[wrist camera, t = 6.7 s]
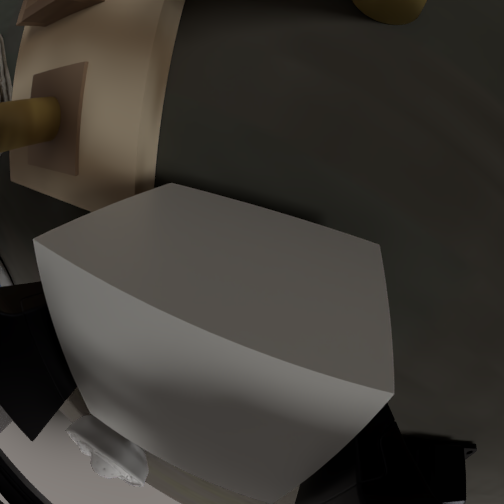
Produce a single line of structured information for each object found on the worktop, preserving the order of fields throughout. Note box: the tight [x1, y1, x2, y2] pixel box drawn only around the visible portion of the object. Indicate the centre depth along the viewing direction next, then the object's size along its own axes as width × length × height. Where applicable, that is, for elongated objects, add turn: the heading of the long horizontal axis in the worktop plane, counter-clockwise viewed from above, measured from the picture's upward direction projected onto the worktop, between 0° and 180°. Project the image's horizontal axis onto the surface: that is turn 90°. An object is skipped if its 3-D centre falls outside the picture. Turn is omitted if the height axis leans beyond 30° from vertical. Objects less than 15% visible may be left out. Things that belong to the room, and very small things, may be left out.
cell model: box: [66, 415, 149, 487], centre depth 22 cm, size 10×12×7 cm
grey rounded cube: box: [33, 183, 394, 504], centre depth 7 cm, size 6×6×5 cm
